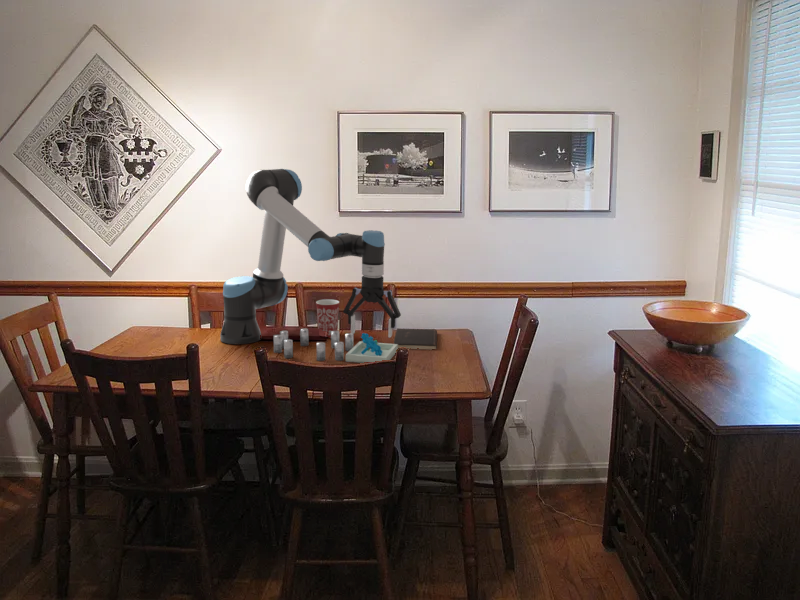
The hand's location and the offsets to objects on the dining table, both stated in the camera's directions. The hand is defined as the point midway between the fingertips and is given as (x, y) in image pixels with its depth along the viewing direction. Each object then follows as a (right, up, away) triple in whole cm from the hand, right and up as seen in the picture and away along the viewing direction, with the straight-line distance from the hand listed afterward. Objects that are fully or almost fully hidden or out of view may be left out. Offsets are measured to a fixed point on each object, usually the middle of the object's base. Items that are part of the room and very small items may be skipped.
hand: (371, 335), depth 254 cm
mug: (-18, -1, +30) cm, 35 cm away
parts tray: (0, -7, +1) cm, 8 cm away
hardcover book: (+16, -4, +22) cm, 28 cm away
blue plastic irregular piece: (0, -7, +1) cm, 7 cm away
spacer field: (-21, -6, +5) cm, 23 cm away
